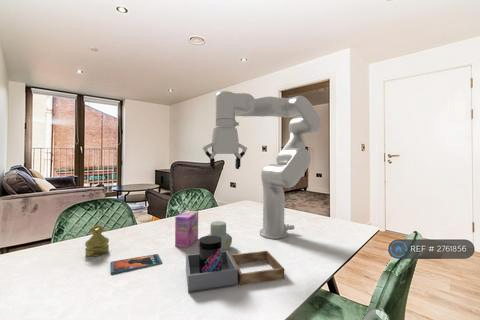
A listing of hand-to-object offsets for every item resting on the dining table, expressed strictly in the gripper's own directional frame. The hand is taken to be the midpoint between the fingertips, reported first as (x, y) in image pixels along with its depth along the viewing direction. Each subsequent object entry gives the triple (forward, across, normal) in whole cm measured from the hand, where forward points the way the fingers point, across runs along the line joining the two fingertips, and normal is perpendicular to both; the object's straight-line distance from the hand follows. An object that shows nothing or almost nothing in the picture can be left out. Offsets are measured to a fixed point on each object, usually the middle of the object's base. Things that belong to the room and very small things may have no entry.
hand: (225, 168), depth 92 cm
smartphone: (+31, +31, +7) cm, 44 cm away
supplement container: (+30, +9, +21) cm, 38 cm away
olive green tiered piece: (+31, +46, -6) cm, 56 cm away
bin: (+30, +9, +22) cm, 38 cm away
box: (+31, +14, -8) cm, 35 cm away
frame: (+30, -5, +22) cm, 37 cm away
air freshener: (+31, +3, +2) cm, 31 cm away
